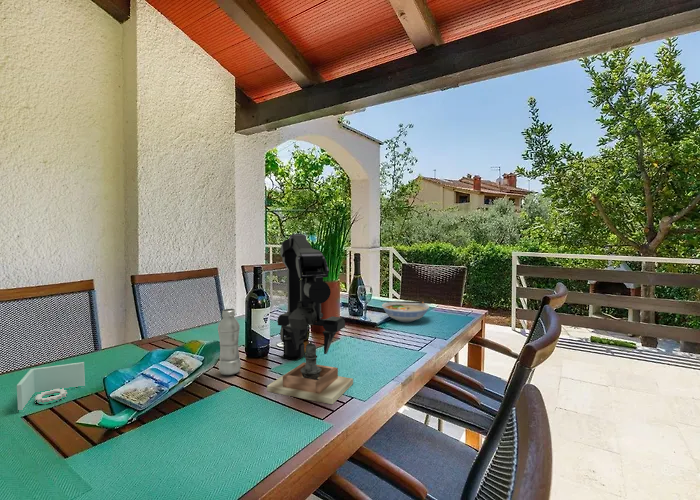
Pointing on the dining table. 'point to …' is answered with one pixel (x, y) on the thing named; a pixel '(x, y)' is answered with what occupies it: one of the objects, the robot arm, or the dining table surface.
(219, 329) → the plastic bottle
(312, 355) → the salt shaker
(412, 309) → the ramen bowl
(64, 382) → the right angle wall
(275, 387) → the shaker holder
